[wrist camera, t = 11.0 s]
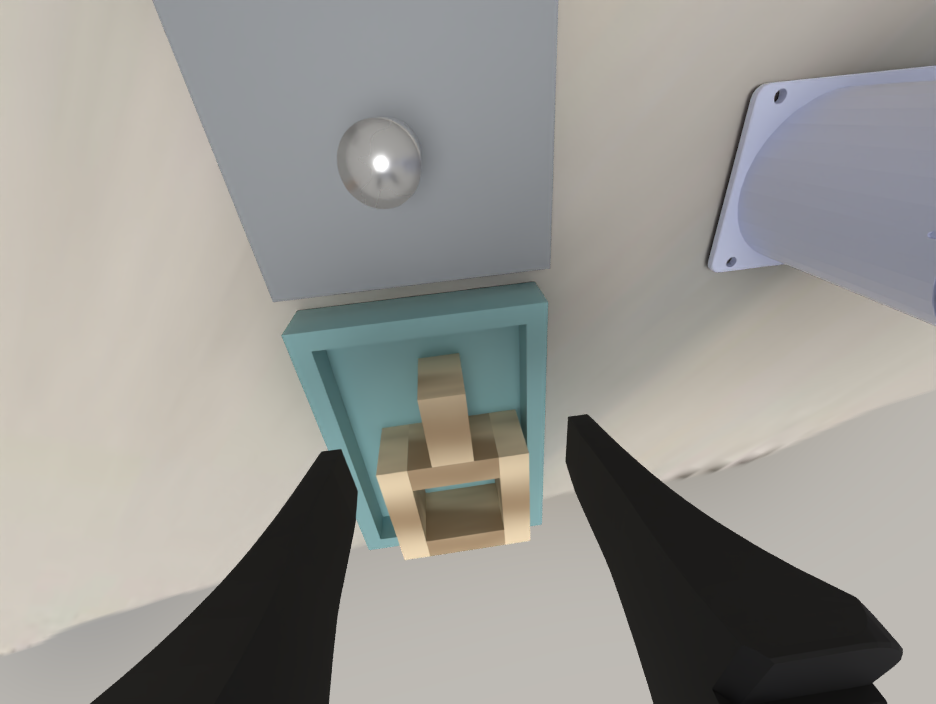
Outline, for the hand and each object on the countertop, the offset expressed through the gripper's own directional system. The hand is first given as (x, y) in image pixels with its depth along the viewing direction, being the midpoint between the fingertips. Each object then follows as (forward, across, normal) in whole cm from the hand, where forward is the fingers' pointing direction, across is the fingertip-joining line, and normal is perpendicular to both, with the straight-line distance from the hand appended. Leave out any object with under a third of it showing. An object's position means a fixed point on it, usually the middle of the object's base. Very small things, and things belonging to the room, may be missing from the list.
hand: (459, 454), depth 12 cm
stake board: (+9, +1, -10) cm, 13 cm away
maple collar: (+9, +1, +8) cm, 12 cm away
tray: (+9, +1, +7) cm, 12 cm away
